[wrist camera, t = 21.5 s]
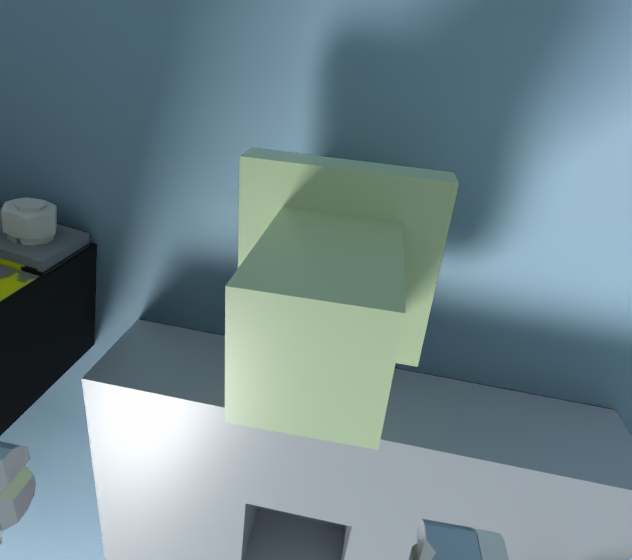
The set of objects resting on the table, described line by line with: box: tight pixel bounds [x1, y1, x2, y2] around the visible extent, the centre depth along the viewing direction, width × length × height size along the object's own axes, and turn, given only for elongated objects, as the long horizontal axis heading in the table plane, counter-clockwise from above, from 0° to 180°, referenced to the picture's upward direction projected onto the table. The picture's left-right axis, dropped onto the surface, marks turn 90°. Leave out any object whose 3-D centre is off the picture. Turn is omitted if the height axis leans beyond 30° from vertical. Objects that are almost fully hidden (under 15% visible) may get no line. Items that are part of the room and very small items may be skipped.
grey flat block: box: [82, 319, 632, 560], centre depth 25 cm, size 24×16×5 cm, turn 83°
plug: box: [225, 148, 459, 450], centre depth 16 cm, size 7×7×11 cm
